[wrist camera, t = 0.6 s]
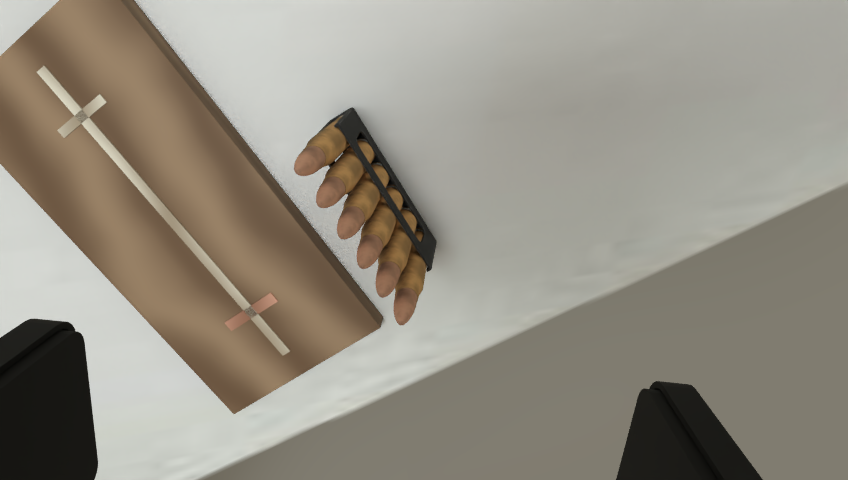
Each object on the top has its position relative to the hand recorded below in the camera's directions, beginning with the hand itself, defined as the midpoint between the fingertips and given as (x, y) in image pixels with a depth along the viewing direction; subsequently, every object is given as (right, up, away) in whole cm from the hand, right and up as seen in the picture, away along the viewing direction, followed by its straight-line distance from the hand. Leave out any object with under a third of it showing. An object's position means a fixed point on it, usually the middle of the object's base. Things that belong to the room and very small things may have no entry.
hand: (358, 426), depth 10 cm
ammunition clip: (-1, +7, +28) cm, 29 cm away
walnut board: (-16, +5, +30) cm, 34 cm away
